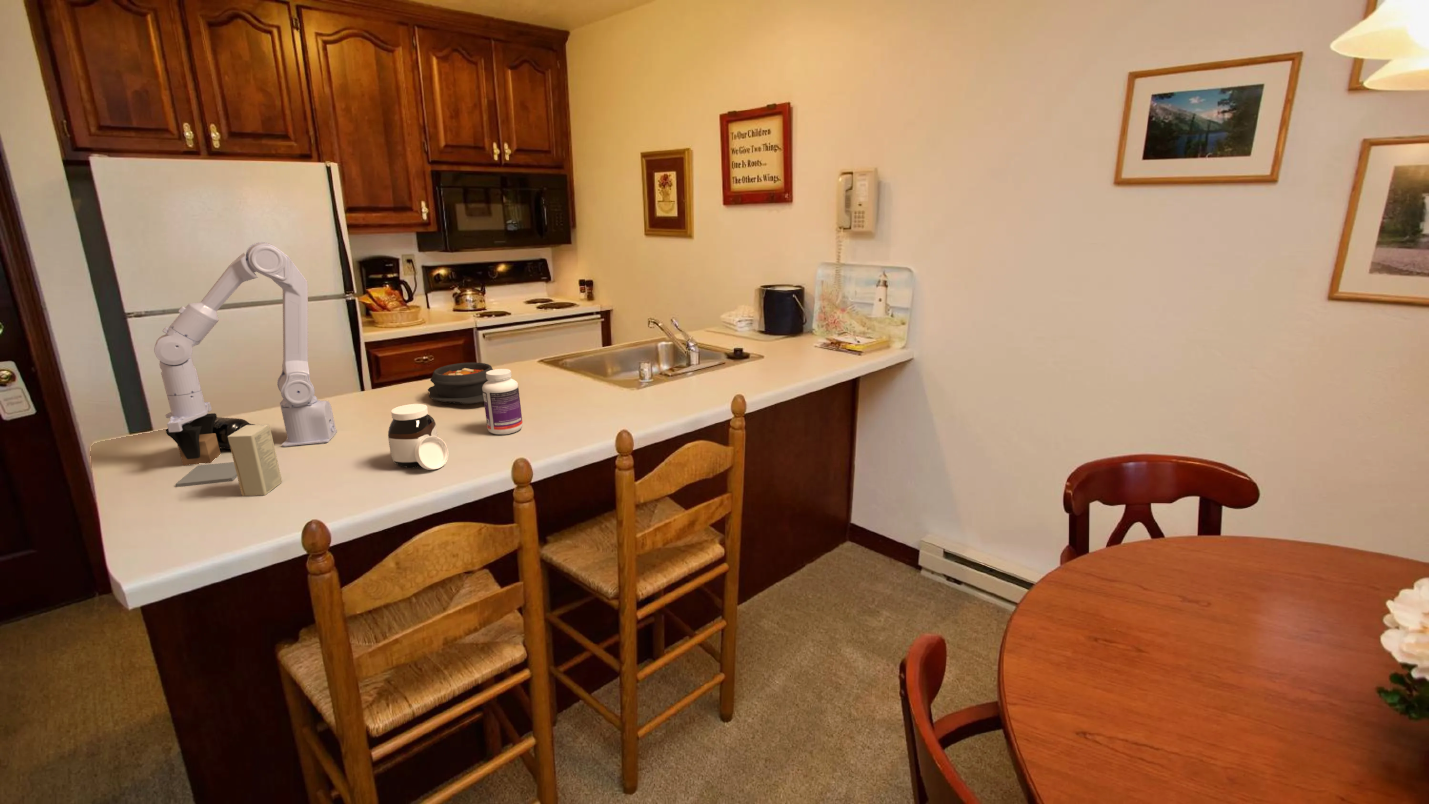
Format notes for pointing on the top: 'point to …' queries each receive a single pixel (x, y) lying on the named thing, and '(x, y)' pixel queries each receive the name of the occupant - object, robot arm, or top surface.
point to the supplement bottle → (227, 429)
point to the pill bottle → (502, 402)
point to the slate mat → (209, 474)
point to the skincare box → (255, 459)
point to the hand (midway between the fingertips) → (199, 453)
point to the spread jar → (415, 438)
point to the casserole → (459, 383)
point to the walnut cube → (204, 450)
